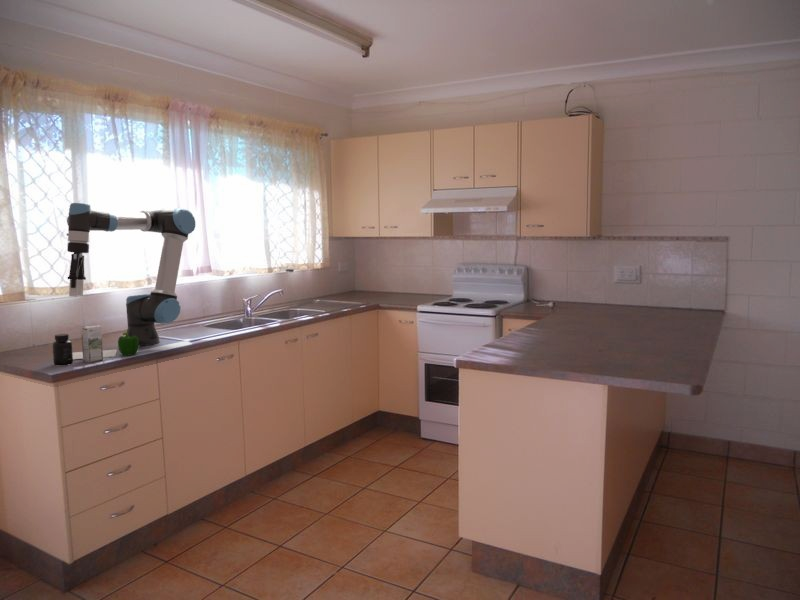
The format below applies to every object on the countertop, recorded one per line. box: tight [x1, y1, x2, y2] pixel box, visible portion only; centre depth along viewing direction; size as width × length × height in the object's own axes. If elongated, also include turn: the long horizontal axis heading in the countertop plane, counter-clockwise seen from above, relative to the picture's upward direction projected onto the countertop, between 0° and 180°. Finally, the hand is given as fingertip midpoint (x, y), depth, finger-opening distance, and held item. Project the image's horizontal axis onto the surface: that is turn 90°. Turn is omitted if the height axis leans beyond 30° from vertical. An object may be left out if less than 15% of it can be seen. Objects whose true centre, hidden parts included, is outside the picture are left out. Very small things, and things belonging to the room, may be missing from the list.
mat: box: [73, 349, 118, 361], centre depth 258 cm, size 18×15×1 cm
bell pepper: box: [117, 331, 140, 357], centre depth 258 cm, size 8×8×10 cm
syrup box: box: [80, 324, 104, 363], centre depth 247 cm, size 6×6×14 cm
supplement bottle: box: [52, 333, 74, 366], centre depth 241 cm, size 7×7×12 cm
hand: (76, 296), depth 239 cm, fingers open, 13 cm apart
